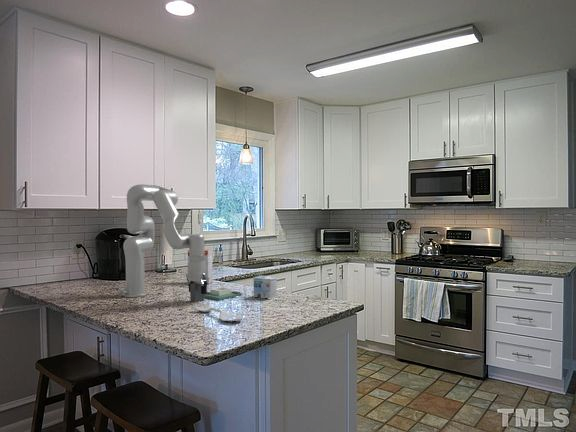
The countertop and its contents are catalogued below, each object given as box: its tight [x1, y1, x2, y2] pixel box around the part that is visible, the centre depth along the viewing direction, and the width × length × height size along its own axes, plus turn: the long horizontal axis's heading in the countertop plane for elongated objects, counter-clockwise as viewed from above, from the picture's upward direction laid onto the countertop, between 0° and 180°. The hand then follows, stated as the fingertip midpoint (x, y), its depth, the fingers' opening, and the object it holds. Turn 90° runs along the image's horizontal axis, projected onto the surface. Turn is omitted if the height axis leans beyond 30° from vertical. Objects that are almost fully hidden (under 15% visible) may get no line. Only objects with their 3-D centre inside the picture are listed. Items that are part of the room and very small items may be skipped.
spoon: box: [191, 301, 244, 322], centre depth 191 cm, size 9×32×4 cm, turn 41°
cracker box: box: [187, 249, 213, 285], centre depth 268 cm, size 14×6×21 cm, turn 73°
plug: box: [189, 282, 205, 303], centre depth 220 cm, size 6×4×9 cm, turn 141°
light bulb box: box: [253, 275, 278, 299], centre depth 228 cm, size 11×7×11 cm, turn 62°
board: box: [204, 286, 243, 301], centre depth 231 cm, size 16×16×4 cm
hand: (197, 292), depth 220 cm, fingers open, 9 cm apart
